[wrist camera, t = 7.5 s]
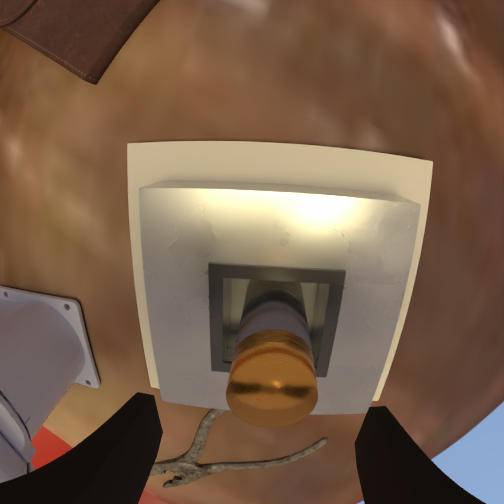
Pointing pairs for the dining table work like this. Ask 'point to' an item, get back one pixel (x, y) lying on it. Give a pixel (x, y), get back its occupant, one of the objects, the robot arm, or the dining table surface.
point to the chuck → (273, 279)
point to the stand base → (277, 172)
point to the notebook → (75, 29)
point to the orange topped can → (272, 357)
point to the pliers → (194, 471)
